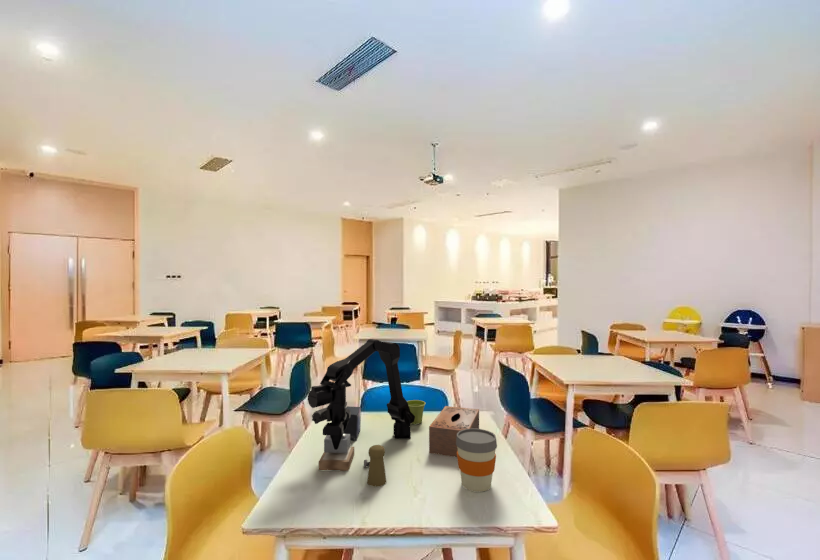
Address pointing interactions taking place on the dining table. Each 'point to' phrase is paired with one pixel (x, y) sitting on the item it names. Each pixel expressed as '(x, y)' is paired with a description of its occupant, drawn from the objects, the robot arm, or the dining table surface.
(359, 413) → the small box
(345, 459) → the picture frame
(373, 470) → the cork
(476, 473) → the reusable coffee cup
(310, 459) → the dining table surface
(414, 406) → the plant pot
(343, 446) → the housing
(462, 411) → the tissue box cover
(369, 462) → the loose bolt
